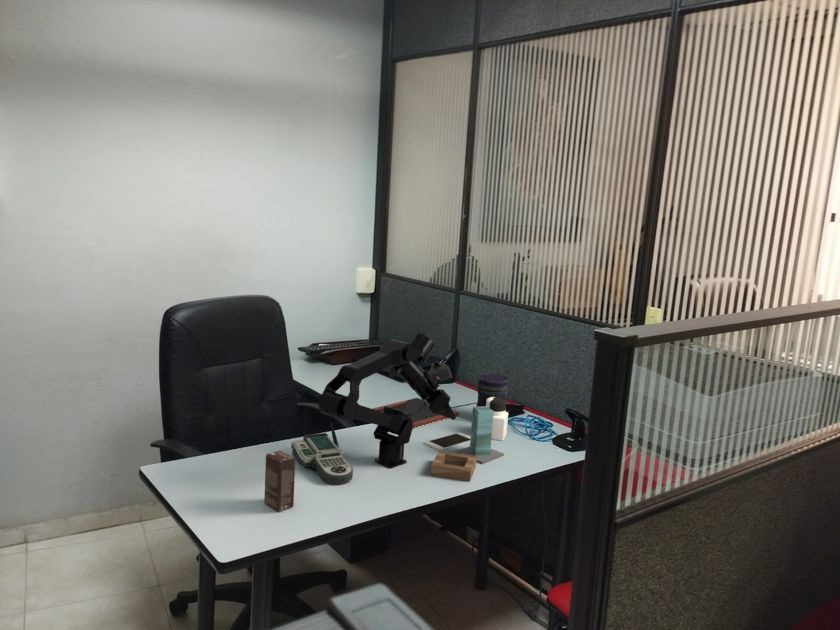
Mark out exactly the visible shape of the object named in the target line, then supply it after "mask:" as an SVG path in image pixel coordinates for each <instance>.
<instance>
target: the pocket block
mask: <svg viewBox="0 0 840 630" xmlns="http://www.w3.org/2000/svg"><path fill="white" fill-rule="evenodd" d="M476 460H477V456H472V455H465V454H458V453H455V452H450V451H444V450H442V451H439V450H438V452H437V454H436V456H435V457H434V459H433V461H432V463H431V464H430V477H436V476H437V478H443V479H450V480H456V481H457V480H458V481H462V482H463V481H464V482H471V481H472V477H473V475H474V472H475V469H476V467H477V462H476Z"/></svg>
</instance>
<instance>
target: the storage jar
mask: <svg viewBox="0 0 840 630" xmlns="http://www.w3.org/2000/svg"><path fill="white" fill-rule="evenodd" d="M477 381H478V382H477V390H476V392H477V403H476V406H475V407H482V406H486V401H487V399H488V398H490V397H500V398H502V399H504V400H505V401H506V402H507V396H508V390H509V387H508V386H509V383H508V382H509V378H508V377H507V376H505V375H501V374H495V373H484V374H480V375H478V380H477ZM506 410H507V409H506ZM506 410H505V412H507V411H506Z"/></svg>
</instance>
